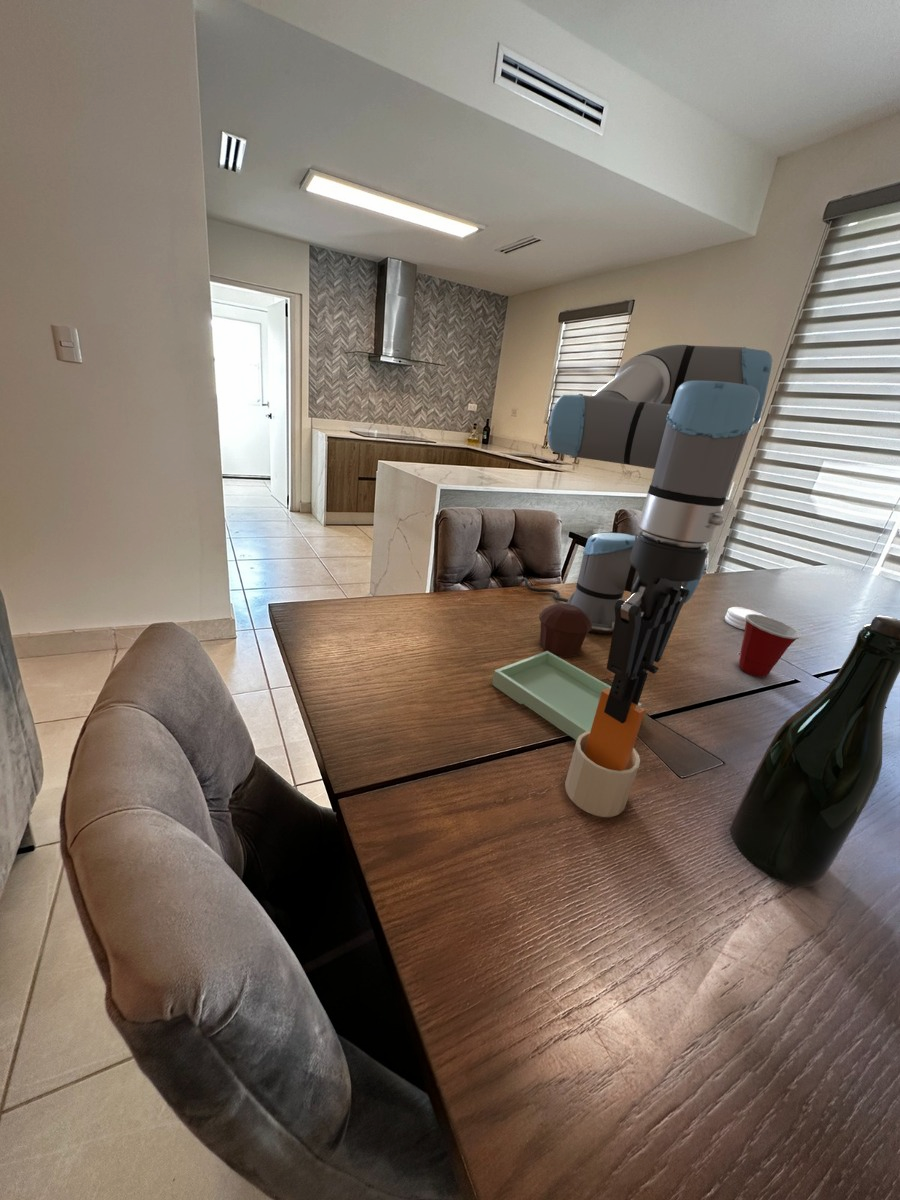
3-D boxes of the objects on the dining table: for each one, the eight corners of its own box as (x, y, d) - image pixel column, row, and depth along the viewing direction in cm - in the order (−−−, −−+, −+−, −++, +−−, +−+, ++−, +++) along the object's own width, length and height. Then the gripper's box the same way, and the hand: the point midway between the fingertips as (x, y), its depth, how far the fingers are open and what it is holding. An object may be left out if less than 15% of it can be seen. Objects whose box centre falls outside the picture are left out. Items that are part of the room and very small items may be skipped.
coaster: (764, 625, 134) (768, 613, 133) (764, 636, 126) (768, 624, 125) (725, 614, 139) (729, 603, 137) (722, 624, 131) (727, 613, 129)
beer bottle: (841, 879, 58) (992, 642, 45) (782, 901, 54) (928, 649, 41) (764, 812, 67) (871, 598, 54) (709, 826, 63) (810, 601, 50)
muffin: (589, 645, 109) (599, 606, 106) (580, 665, 100) (591, 623, 96) (540, 630, 114) (548, 592, 110) (527, 649, 104) (535, 608, 100)
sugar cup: (552, 789, 66) (564, 744, 63) (586, 766, 71) (599, 723, 68) (602, 830, 60) (618, 782, 57) (635, 802, 65) (651, 757, 62)
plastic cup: (790, 688, 101) (813, 639, 97) (737, 677, 103) (757, 629, 98) (769, 664, 111) (789, 618, 106) (720, 654, 113) (738, 609, 108)
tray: (491, 684, 89) (494, 670, 88) (544, 663, 99) (547, 650, 98) (586, 751, 74) (591, 734, 73) (637, 719, 84) (642, 704, 83)
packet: (583, 757, 65) (601, 690, 61) (588, 753, 66) (607, 687, 62) (617, 782, 62) (640, 713, 57) (623, 777, 63) (645, 709, 58)
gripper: (675, 555, 44) (613, 752, 53) (734, 540, 53) (673, 711, 62) (606, 533, 49) (561, 716, 59) (671, 523, 58) (623, 684, 68)
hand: (619, 713), depth 60 cm, fingers closed on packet
